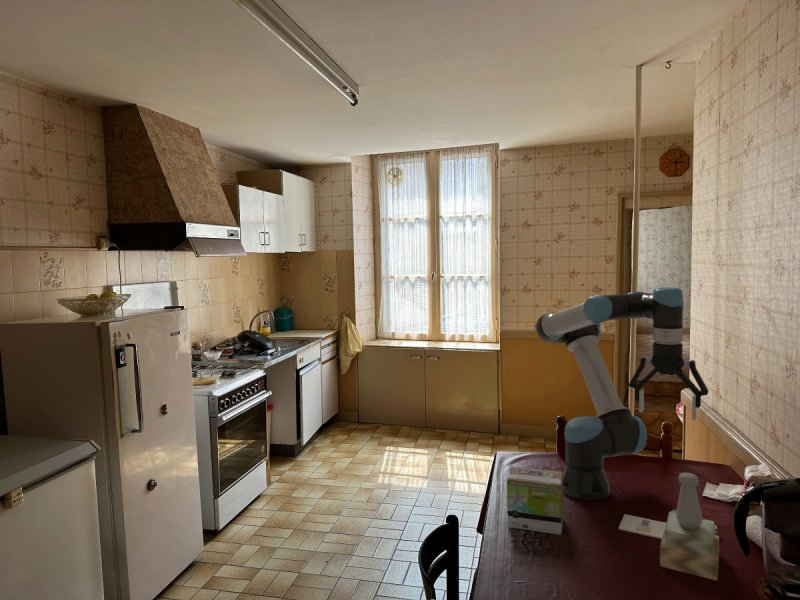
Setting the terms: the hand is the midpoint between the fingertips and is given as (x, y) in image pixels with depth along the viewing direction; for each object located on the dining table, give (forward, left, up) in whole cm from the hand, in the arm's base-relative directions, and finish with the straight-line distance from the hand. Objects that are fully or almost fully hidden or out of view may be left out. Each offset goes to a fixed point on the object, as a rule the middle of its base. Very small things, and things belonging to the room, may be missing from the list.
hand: (667, 414), depth 150 cm
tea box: (-32, -23, -30) cm, 49 cm away
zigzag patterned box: (+7, -23, -30) cm, 38 cm away
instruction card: (-5, -11, -30) cm, 32 cm away
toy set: (+7, -5, -30) cm, 32 cm away
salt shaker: (+7, -23, -21) cm, 32 cm away
